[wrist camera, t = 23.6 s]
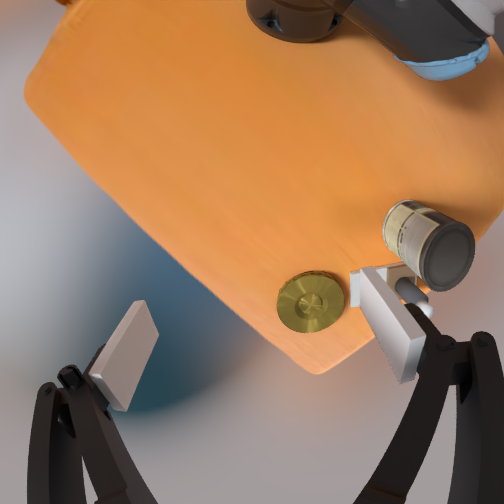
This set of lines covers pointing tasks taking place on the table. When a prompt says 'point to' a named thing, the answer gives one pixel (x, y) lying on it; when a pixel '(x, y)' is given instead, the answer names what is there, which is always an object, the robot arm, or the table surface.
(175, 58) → the table surface
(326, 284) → the olive gold disc
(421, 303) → the grey white-capped bottle
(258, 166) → the table surface
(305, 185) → the table surface
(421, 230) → the coffee can
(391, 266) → the white and brown box
